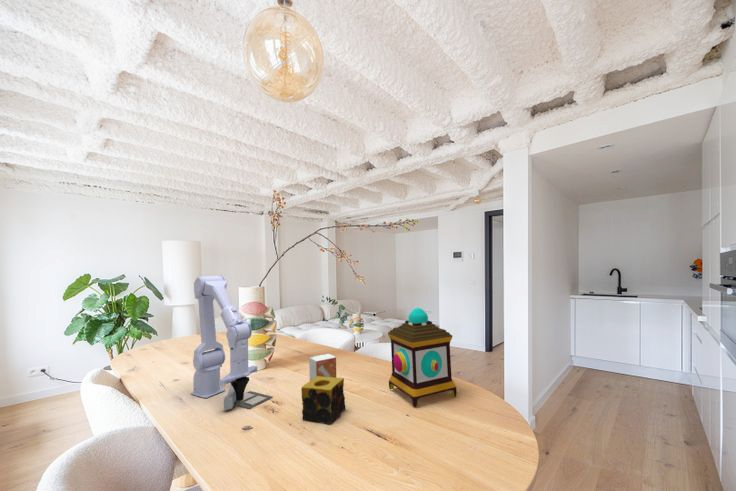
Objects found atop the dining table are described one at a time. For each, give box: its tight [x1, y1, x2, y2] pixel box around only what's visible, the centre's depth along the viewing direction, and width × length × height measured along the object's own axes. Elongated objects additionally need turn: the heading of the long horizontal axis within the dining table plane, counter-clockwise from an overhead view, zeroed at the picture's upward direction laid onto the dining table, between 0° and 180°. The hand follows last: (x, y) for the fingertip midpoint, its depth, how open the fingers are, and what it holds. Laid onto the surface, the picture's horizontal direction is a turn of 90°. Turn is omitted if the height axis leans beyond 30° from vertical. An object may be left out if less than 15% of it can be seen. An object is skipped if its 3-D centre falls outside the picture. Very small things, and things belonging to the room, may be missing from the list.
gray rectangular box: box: [223, 385, 236, 411], centre depth 105 cm, size 12×2×3 cm, turn 15°
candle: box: [301, 376, 346, 425], centre depth 95 cm, size 10×10×10 cm
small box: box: [308, 353, 337, 381], centre depth 111 cm, size 8×6×13 cm
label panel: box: [233, 390, 274, 410], centre depth 108 cm, size 12×10×1 cm
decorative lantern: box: [387, 307, 458, 408], centre depth 109 cm, size 20×20×30 cm
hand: (239, 400), depth 104 cm, fingers closed
